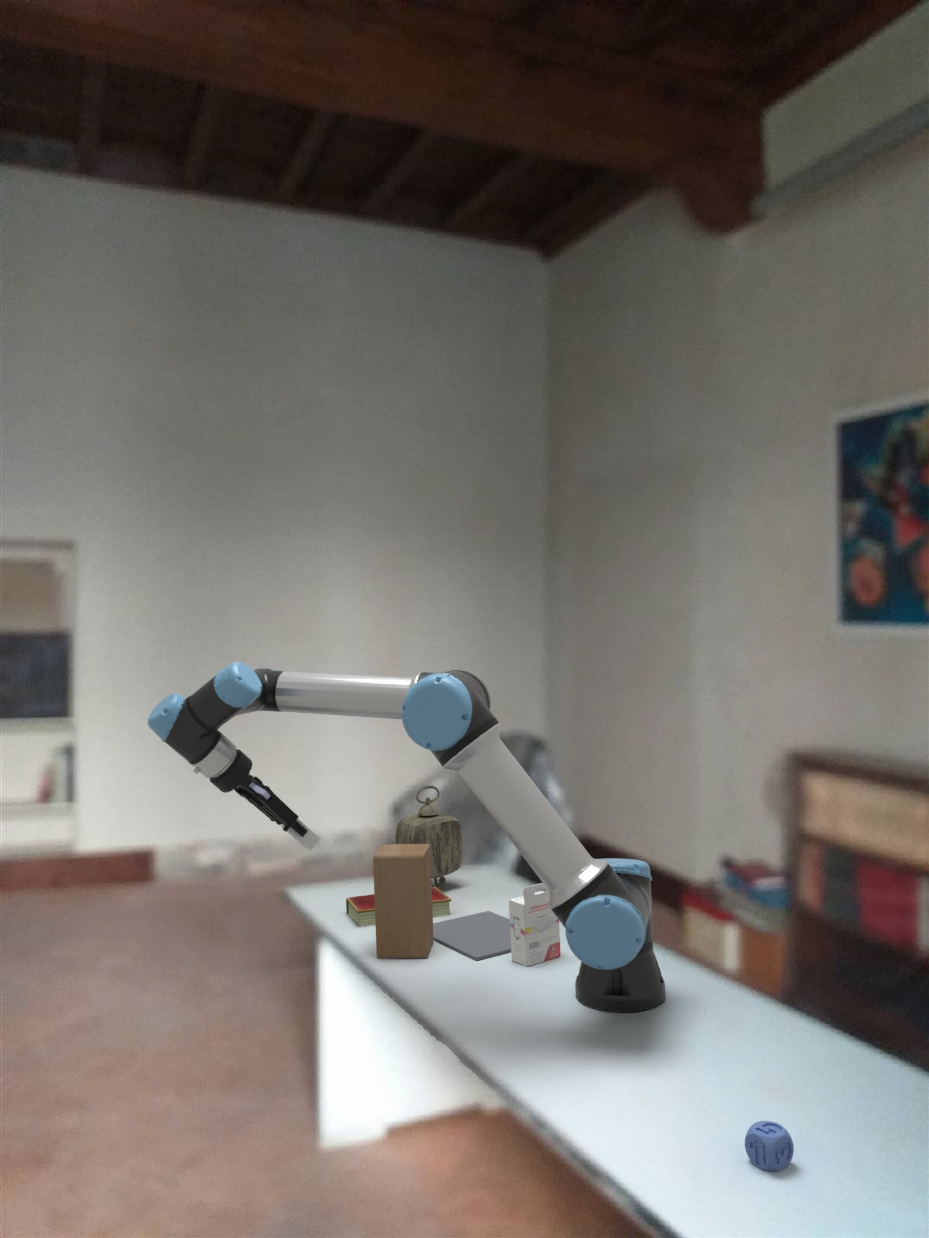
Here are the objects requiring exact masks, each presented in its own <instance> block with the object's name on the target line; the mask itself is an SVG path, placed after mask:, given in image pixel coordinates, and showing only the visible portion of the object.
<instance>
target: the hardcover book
mask: <svg viewBox="0 0 929 1238" xmlns="http://www.w3.org/2000/svg"><path fill="white" fill-rule="evenodd" d="M345 899H346V901H345V908H346V914H349V915H351V916H352V917H351V918H352V920H355V921H356V922H355V921H354V922H355V923H356V924H357V926H358V927H359V928H363V927H370V926H376V925H375V897H374V893H373V894H367V895H366V894H365V895H359V896H358V895H356V896H349V897H346V898H345ZM450 902H452V898H450V897H449V896H448V895H447V894H445V892H443V891H442V890H441V889H440V890H439V889H438V888H437V887H434V886H432V910H433V918H436V917H443V916H450V914H451V912H450V910H451V909H450ZM362 926H363V927H362Z"/></svg>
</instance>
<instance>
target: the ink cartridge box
mask: <svg viewBox="0 0 929 1238" xmlns="http://www.w3.org/2000/svg"><path fill="white" fill-rule="evenodd" d="M540 889H541V890H545V891H538V890H540ZM522 895H523V896H517V897H514V898H510V899H508V913H509V919H510V935H511V952H510V953H511V961H512V962H515V963H518V964H520V965H523V966H525V967H530V966H534V965H538V964H540V963H543V962H546V961H550V960H553V959H556V958H560V957H561V937H560V936H561V934H560V933H561V932H560V921H559V919H558V918H557V917H556V915H555V914H554V913H553V911H552V910H551V909H550V907H549V901H550V892H549V890H548V889H547V888H546V886H545V885H544V884H543V882H542V883H541V882H540V883H536V884H533V885H528V886H525V887H523V889H522Z"/></svg>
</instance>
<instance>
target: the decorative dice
mask: <svg viewBox="0 0 929 1238" xmlns="http://www.w3.org/2000/svg"><path fill="white" fill-rule="evenodd" d="M794 1148H795V1147H794V1142H793V1138H792V1136H791V1135H790V1132H789V1131H788V1130H787V1128H785V1127H784V1126H783V1125H782V1124H780V1123H779V1122H775V1121H771V1120H760V1121H756V1122H754V1123H753V1124H752V1125H750V1127H749V1128H748V1129H747V1131H746V1135H745V1137H744V1149H745V1152H746V1154H747V1157H748V1159H749V1160H750V1161H751V1163H752V1164H753V1165H754V1166H755V1167H756V1168H758V1169H760V1170H763V1171H766V1172H780V1171H783V1170H785V1169H786V1168H787V1167H788V1166H789V1165H790V1163H791V1162H792V1159H793V1156H794V1152H795V1151H794Z"/></svg>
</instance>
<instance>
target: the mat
mask: <svg viewBox="0 0 929 1238" xmlns="http://www.w3.org/2000/svg"><path fill="white" fill-rule="evenodd" d="M433 937H434V941H433V942H436V943H438V944H441V945H443V946H445V947H446V948H449V949H451V950H453V951H455V952H457V953H460V954H462V955H463V956H466V957H468V958H470V959H472V960H474V961H476V962H477V961H481V960H482V961H483V960H486V959H490V958H493V957H498V956H502V955H505V954H509V953H511V935H510V918H508V917H506V916H502V915H500V914H498V913H494V912H493V911H489V910H486V911H483V912H477V913H473V914H470V915H464V916H459V917H455V918H451V919H450V918H449V919H446V920H441V921H438V922H433Z"/></svg>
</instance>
